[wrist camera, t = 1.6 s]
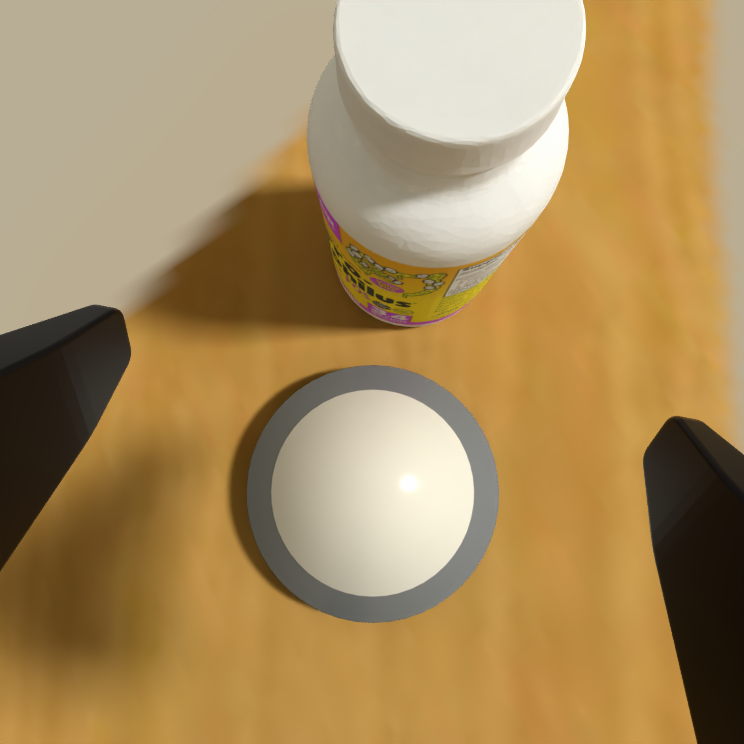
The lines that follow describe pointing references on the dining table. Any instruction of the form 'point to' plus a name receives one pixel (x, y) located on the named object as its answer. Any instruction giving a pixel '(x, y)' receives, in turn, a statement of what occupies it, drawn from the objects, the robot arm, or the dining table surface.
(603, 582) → the dining table surface
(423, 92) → the supplement bottle
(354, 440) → the push button
